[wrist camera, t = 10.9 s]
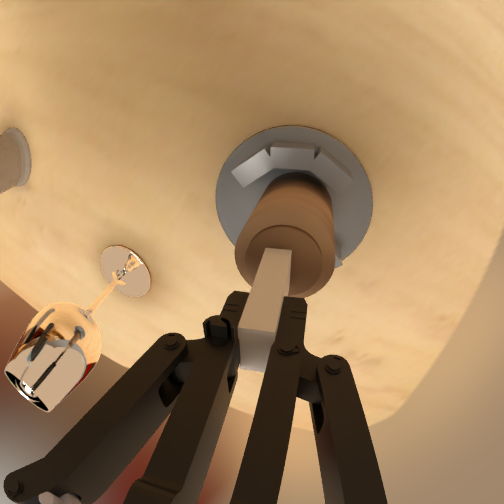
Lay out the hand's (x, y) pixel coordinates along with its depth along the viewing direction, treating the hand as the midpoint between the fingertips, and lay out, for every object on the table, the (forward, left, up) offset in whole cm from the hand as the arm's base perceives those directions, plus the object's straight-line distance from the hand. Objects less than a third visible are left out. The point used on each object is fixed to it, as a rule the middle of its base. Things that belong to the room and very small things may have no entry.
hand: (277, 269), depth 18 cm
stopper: (0, 0, -10) cm, 10 cm away
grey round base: (0, 0, -11) cm, 11 cm away
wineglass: (+10, -20, -11) cm, 25 cm away
